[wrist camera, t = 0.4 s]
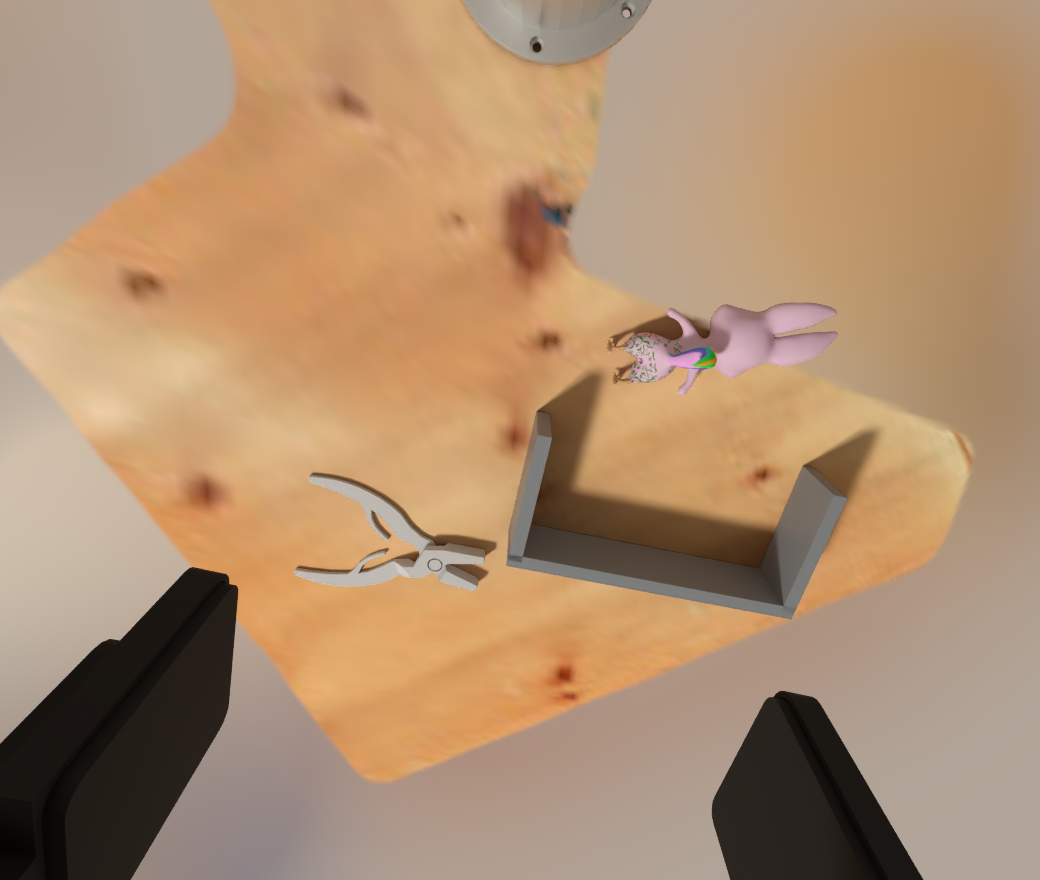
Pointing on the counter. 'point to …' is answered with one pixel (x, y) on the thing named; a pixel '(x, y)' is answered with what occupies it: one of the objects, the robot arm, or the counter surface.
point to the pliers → (429, 553)
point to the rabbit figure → (729, 343)
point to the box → (674, 572)
